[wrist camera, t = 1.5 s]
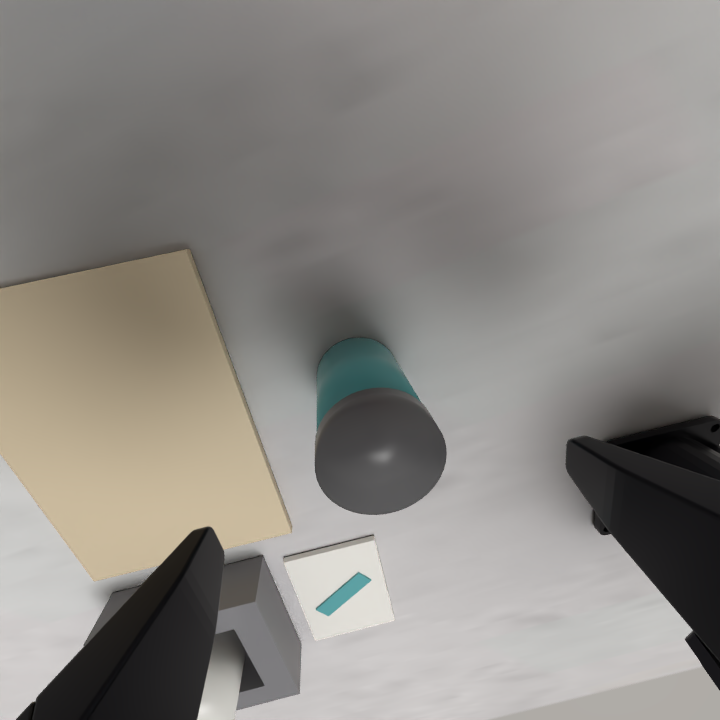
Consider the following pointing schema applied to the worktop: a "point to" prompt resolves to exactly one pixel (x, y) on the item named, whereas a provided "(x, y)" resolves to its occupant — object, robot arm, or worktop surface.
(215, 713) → the button
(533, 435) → the worktop surface
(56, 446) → the paper pad
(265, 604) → the button housing
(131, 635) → the robot arm
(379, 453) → the teal grey-topped cylinder
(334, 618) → the card
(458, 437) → the worktop surface
